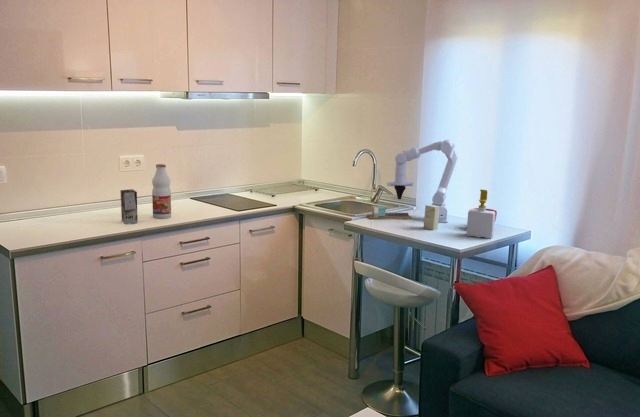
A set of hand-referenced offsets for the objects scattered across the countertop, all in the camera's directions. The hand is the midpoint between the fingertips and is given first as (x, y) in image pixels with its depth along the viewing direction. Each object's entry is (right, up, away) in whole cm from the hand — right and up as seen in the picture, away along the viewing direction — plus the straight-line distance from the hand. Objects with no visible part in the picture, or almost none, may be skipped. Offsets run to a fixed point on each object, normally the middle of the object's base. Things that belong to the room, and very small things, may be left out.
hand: (399, 199), depth 326 cm
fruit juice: (-128, -10, -16) cm, 129 cm away
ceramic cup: (+40, -16, -21) cm, 47 cm away
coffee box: (-141, -12, -29) cm, 144 cm away
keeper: (-11, -9, -1) cm, 14 cm away
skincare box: (+13, -16, -24) cm, 32 cm away
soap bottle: (+35, -19, -37) cm, 54 cm away
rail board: (-6, -10, 0) cm, 12 cm away
